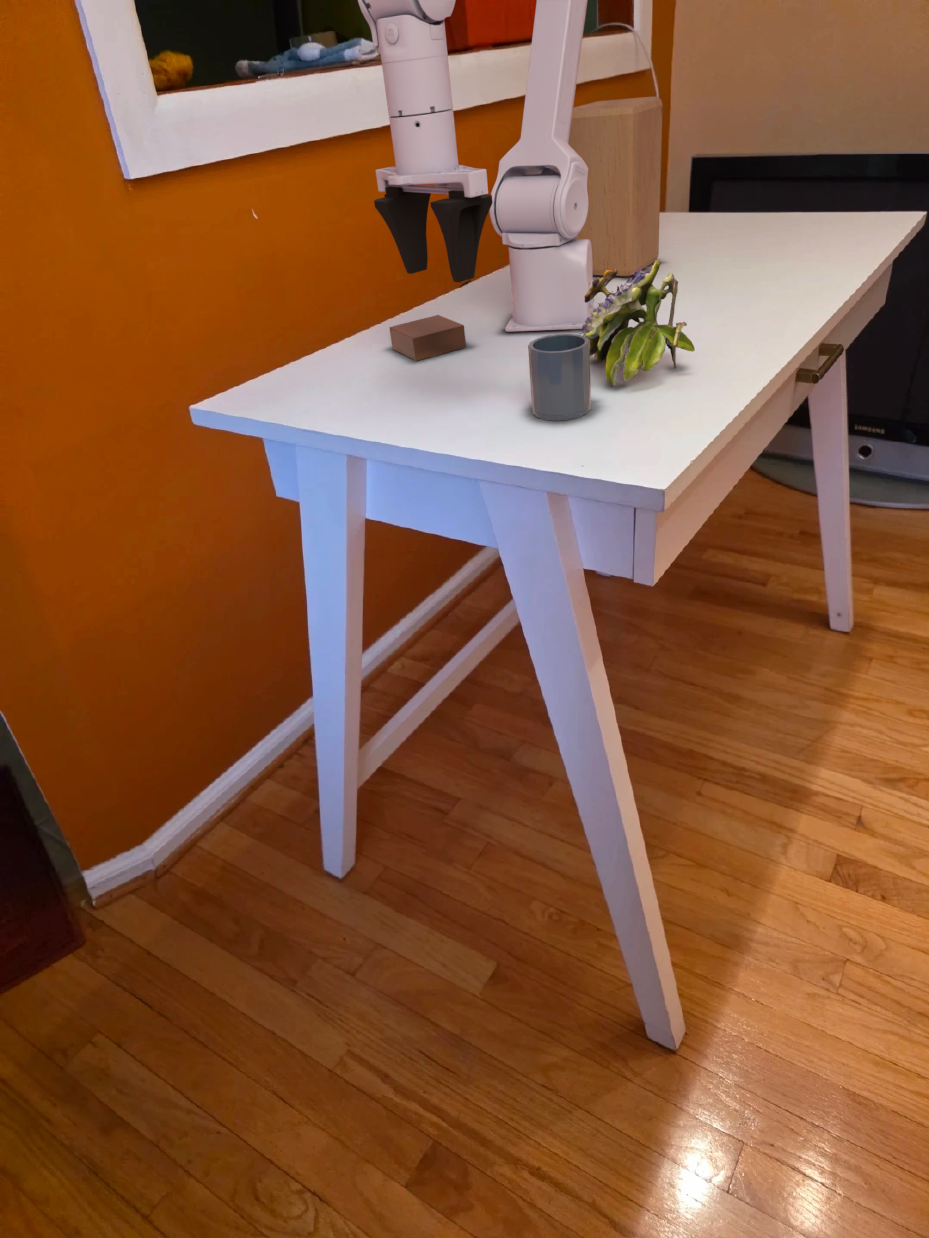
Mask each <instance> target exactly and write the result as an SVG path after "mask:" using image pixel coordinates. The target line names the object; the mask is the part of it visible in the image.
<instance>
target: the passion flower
mask: <svg viewBox="0 0 929 1238" xmlns="http://www.w3.org/2000/svg"><path fill="white" fill-rule="evenodd" d="M661 263H662V262H661V260H660V259H657V260H656V261H654V262H653V265H651V269H650V267H648V266H647V267H645V268H643V269H642V270H638V271H636V272H635V273H634V275H632V276H631V278H628V279H627V280H626V282H624V284H620V286H619V285H618V286H617V287H616V291H615V292H614V290H612V291H611V292H610V291H609V290H608V289H607V285H609V283H610V282H612V280H614V278H615V277H617V276H616V274H617V273H618V270H617V269H615V270H613V271H612V270H607V271H606V272H605V273H604V275H603V276H600V277H599V278H598V277H595V278H593V283H592V285H593V286H592V287H591V288H590V289H589V291H588V292H587V294H586V295H585V296H584V297H585V303H587V302H589V301H590V300H592V299H593V298H594V299H595V297H596V296H597V294H599V293H602V294H604V295H605V299H604V300H603V301H601V302H597V305H598V306H597V307H596V311H593V313H591V314H592V315H591V317H588V318H587V320H586V321H585V323H586V324H584V325H583V327H582V328H583V330H582V331H581V332H580V333H579V335H582V334H583V335H582V336H585V337H587V338H588V339H589V340H590V357H592V356H593V359H594V361H596V362H598V363H602V362H604V361H605V368H604V372H605V380H606V381H607V382H608V383H610V384H611V385H612V388H615V387H616V383H617V382H616V381H617V376H618V374H619V372H620V370H621V368H622V366H623V364H624V366H623V373H622V375H623V380H624V381H629V380H631V379H632V378H634V377H635V376H637V375H638V374H639V373H640V372H644V373H647V372H649V371H651V369H653V368H654V367H655V366H657V364H658V363H659V362H660V360H661V359H662V357H663V355H664V354H665V351H666V347H667V348H668V349H669V352H670V355H671V360H672V363H673V368H674V369H677V357H676V356H677V353H676V351H677V349H678V348H679V349H681V350H684V351H686V352H687V351H688V352H695V351H696V350H695V346H694V343H693V342H692V340H691V339H690V338H689V337H688V336H687V335H686V334H685V333H684V332H683V331H682V329H683V328H684V327H687V325H688V323H687V322H686V321H683V322H676V323H675V326H674V325H673V324H674V317H675V308H676V301H677V296H678V295H677V294H678V290H679V287H678V285H679V281H678V280H677V279H676V278H675V275H674V274H673V272H669V273H668V274H667V276H666V277H665V278H663V279H662V280H661V281H662V284H661V287H660V288H656V287H655V285H653V282H654V281H655V278H656V276H657V274H658V272H659V270H660V266H661ZM667 286H668V288H667V289H666V287H667ZM670 293H671V296H672V299H671V304H670V305H671V306H670V310H669V311H670V313H669V320H668V323H667V324H659V323H658V321H657V319H658V313H659V311H660V307H661V304H662V300H664V299H665V298H667V295H668V294H670ZM643 306H645V307H646V309H645V308H644V307H643ZM640 319H643V321H641V320H640ZM630 320H632V321H634V322H635V323H638V324H636V325H635V326H634V327H633V326H629V324H630Z"/></svg>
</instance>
